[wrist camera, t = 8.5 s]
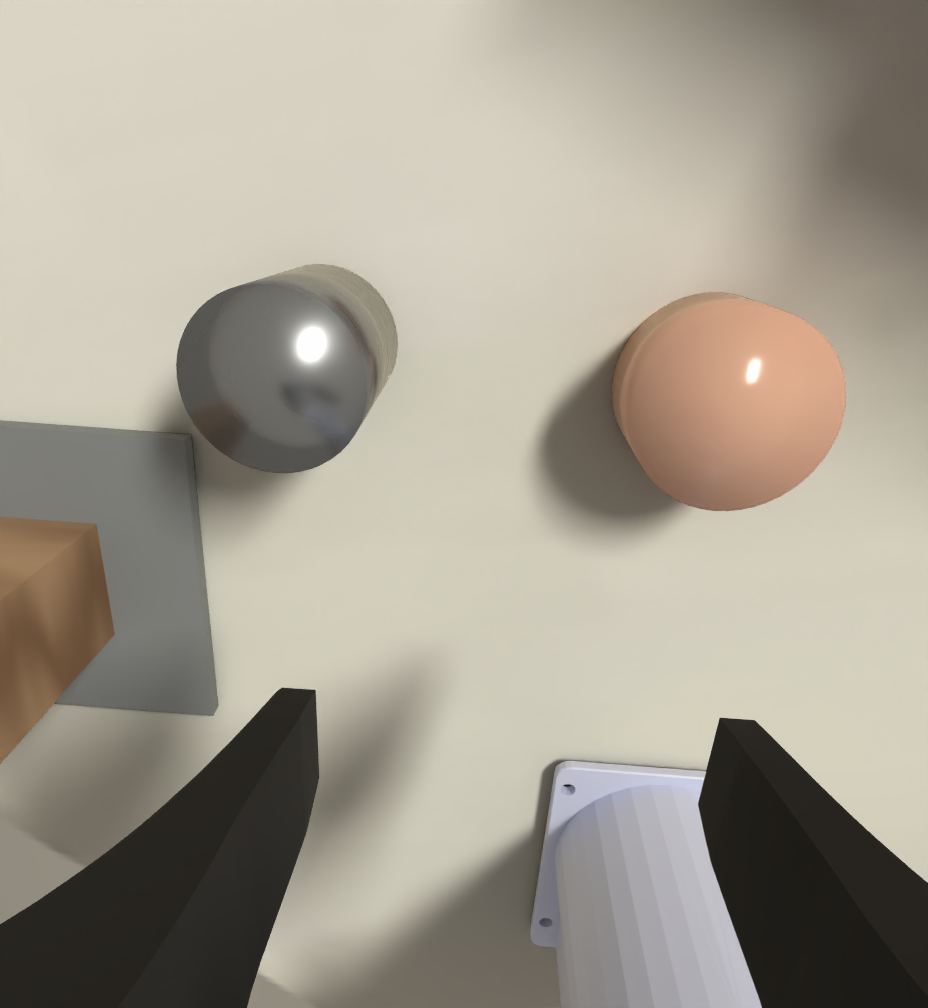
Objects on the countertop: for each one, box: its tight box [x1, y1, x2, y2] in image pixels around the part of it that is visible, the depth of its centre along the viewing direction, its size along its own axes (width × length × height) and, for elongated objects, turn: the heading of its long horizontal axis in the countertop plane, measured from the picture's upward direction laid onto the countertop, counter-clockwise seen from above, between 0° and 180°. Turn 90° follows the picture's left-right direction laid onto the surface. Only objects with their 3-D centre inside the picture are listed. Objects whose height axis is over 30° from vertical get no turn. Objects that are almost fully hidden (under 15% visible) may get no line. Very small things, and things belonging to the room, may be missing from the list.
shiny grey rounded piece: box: [176, 264, 398, 473], centre depth 17 cm, size 4×4×5 cm
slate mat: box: [0, 421, 218, 716], centre depth 22 cm, size 10×10×1 cm
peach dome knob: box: [612, 292, 846, 511], centre depth 18 cm, size 5×5×3 cm
